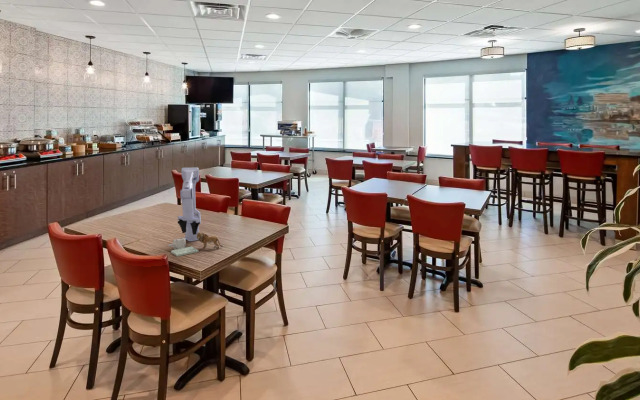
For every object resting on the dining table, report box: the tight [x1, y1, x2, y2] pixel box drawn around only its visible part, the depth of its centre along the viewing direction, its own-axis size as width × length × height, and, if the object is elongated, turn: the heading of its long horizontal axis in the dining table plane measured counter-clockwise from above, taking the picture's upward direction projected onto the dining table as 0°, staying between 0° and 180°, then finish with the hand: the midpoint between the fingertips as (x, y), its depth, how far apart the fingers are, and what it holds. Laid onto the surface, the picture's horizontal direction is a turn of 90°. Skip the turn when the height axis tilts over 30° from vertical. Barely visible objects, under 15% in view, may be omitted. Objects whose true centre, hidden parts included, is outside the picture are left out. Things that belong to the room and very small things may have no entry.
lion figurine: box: [197, 231, 224, 250], centre depth 229 cm, size 15×5×9 cm, turn 90°
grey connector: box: [168, 237, 187, 250], centre depth 227 cm, size 3×9×5 cm, turn 131°
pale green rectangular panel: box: [170, 245, 200, 258], centre depth 221 cm, size 9×12×1 cm
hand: (189, 233), depth 226 cm, fingers open, 7 cm apart
